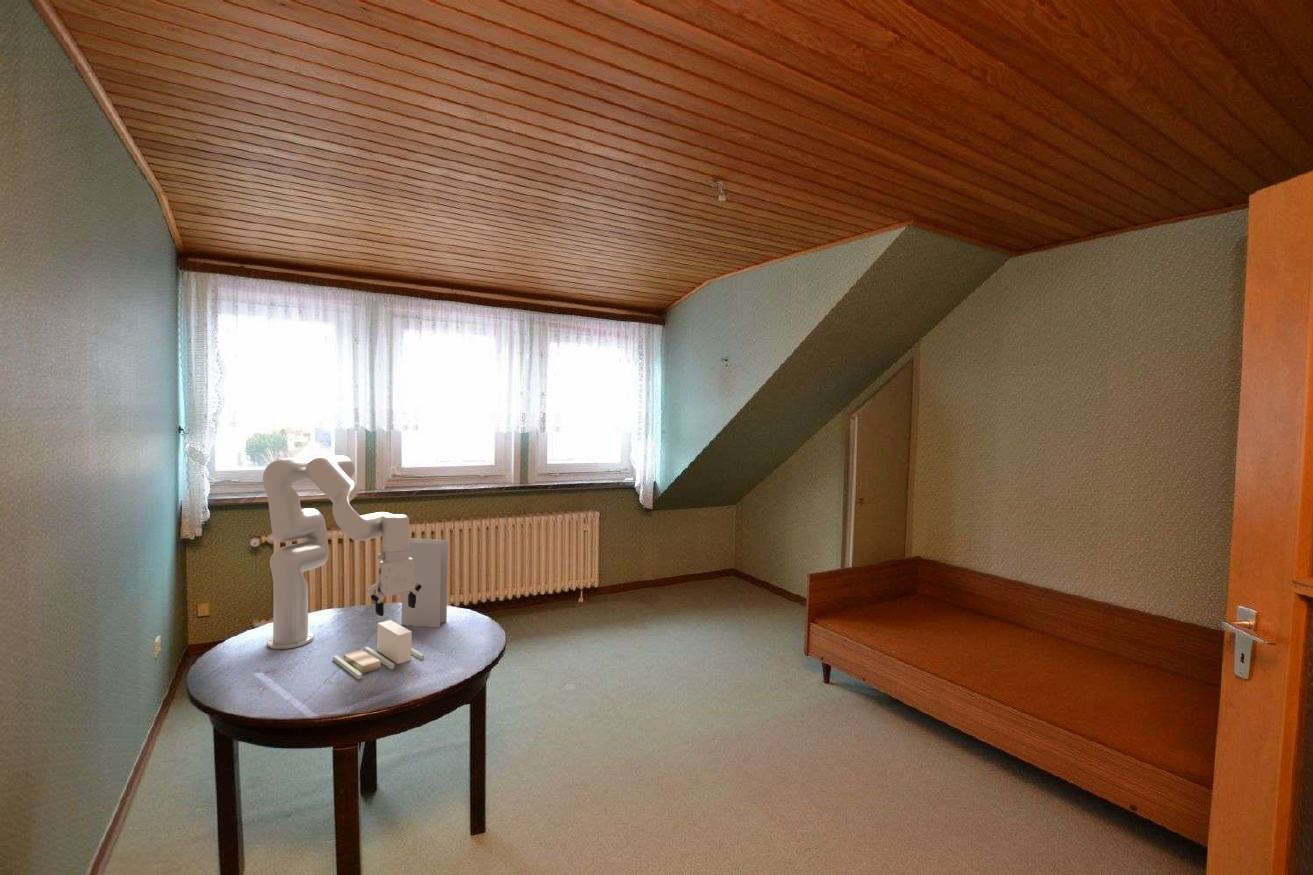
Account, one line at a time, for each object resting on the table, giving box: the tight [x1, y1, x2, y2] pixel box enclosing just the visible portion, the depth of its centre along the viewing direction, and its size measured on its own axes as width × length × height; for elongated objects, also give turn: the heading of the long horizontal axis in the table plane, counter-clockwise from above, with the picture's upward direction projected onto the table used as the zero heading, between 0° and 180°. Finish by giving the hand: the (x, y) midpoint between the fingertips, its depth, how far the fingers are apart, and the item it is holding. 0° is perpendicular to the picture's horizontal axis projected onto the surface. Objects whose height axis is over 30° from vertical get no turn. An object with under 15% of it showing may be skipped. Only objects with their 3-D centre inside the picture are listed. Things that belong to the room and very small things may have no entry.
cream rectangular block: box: [376, 619, 413, 665], centre depth 174 cm, size 14×4×10 cm, turn 49°
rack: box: [332, 646, 425, 680], centre depth 170 cm, size 18×19×2 cm
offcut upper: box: [343, 649, 382, 674], centre depth 167 cm, size 12×5×2 cm, turn 53°
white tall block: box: [400, 537, 449, 628], centre depth 204 cm, size 14×6×30 cm, turn 84°
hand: (396, 610), depth 173 cm, fingers open, 9 cm apart
